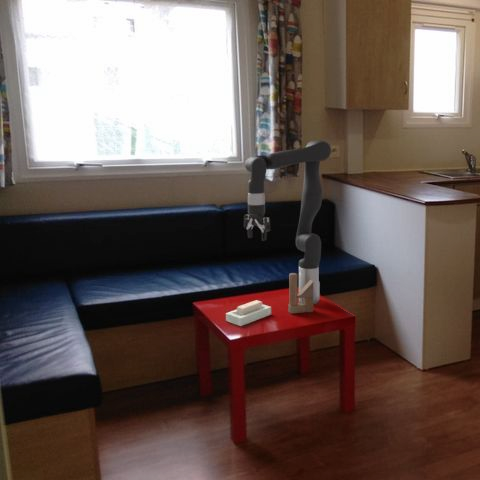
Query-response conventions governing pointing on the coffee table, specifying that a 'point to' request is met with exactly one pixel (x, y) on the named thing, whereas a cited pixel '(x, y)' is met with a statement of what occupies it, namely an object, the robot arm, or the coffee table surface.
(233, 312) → the white rectangular tray
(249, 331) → the coffee table surface
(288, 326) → the coffee table surface
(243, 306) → the cream rectangular block
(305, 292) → the wooden bracket
